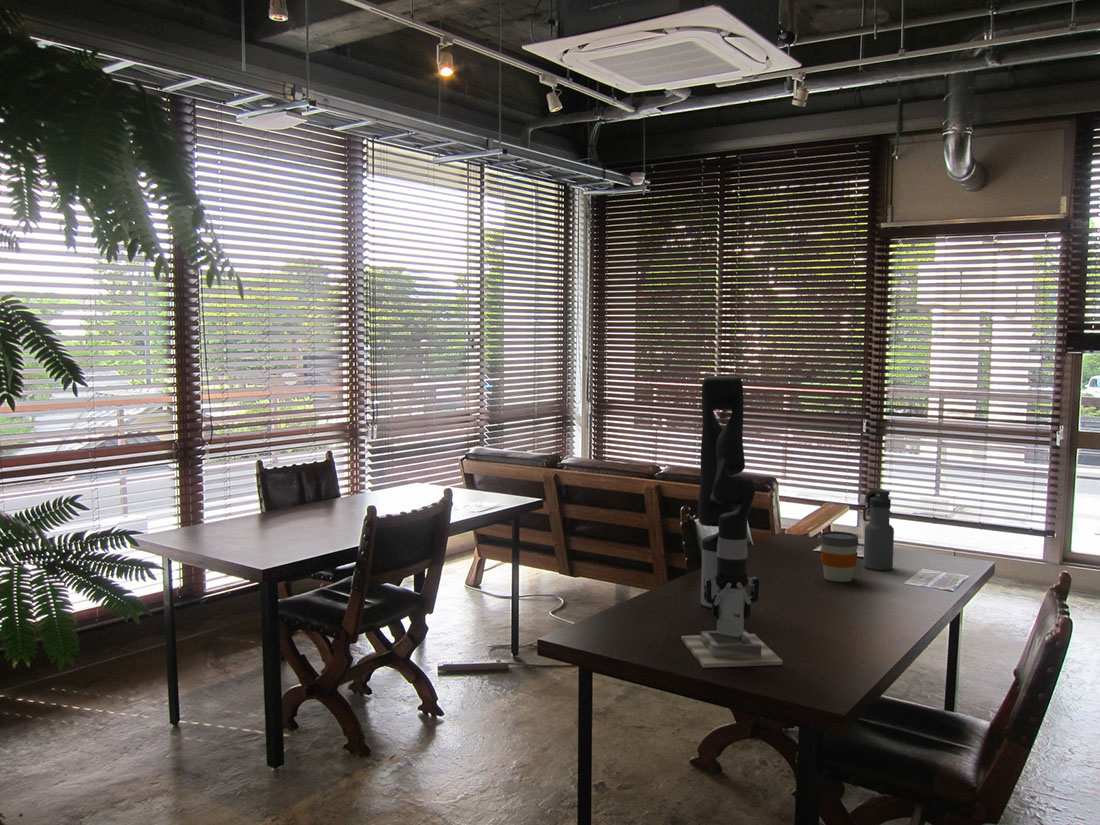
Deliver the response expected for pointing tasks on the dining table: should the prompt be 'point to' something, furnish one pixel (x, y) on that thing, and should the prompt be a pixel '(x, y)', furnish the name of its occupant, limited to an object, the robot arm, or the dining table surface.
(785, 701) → the dining table surface
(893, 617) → the dining table surface
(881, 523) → the water bottle
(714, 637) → the square frame tray
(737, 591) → the skincare box
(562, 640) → the dining table surface
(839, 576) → the reusable coffee cup
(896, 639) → the dining table surface
